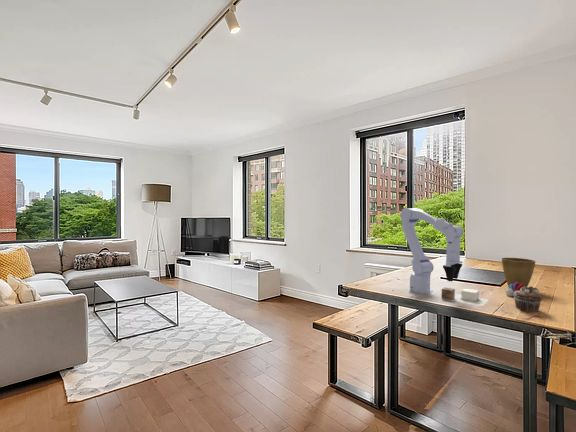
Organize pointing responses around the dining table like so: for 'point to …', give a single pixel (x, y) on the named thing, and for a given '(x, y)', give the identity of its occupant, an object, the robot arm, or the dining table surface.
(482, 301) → the felt mat
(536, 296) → the cupcake
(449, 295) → the walnut cube
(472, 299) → the base block
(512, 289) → the multicoloured rounded cluster
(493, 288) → the dining table surface
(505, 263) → the plant pot
